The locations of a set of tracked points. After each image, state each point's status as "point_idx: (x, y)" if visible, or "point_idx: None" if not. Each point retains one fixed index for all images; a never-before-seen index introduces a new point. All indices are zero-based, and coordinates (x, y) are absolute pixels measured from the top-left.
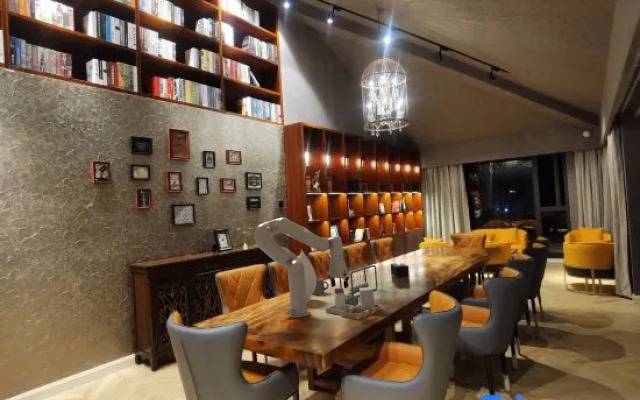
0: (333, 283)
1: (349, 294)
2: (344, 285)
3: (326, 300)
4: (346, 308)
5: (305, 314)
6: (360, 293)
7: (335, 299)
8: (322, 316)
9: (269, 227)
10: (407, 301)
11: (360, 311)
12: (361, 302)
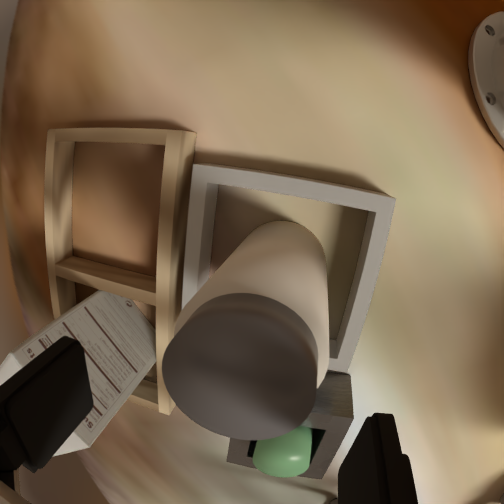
0: (358, 482)
1: (277, 467)
2: (40, 356)
3: (480, 441)
4: (194, 247)
5: (474, 42)
6: None
7: (289, 258)
8: (347, 77)
9: None
10: (86, 457)
11: (117, 271)
12: (84, 315)
